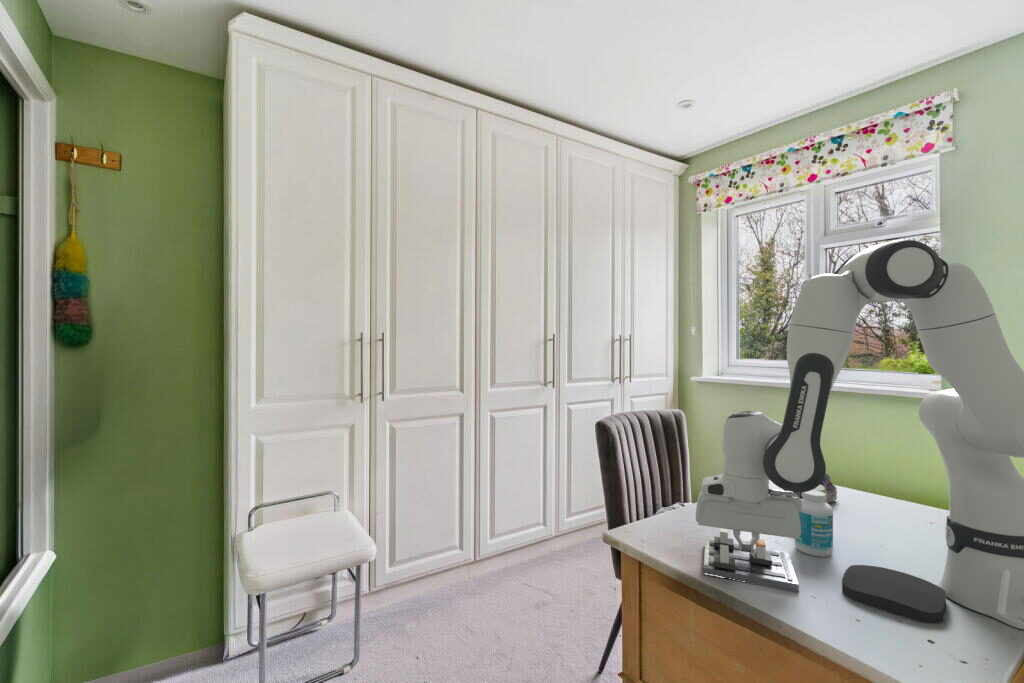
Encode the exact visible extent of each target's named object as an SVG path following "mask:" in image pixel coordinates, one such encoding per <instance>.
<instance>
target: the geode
mask: <svg viewBox="0 0 1024 683" xmlns="http://www.w3.org/2000/svg"><path fill="white" fill-rule="evenodd" d="M821 485H823V486H824V487H825V490H826V491H827V504H830V503H832V502H834V501H837V499H838V495H837V494H838V490H837V487H836V485H834V484H833V483H832V481H831V477H830V476H829V474H827V473H825V477H824V479H823V481H822V482H821ZM782 491H786V490H784V489H782ZM793 494H796V495H798V496H799V493H796V492H793ZM793 497H796V496H793Z"/></svg>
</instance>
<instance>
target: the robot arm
mask: <svg viewBox="0 0 1024 683" xmlns="http://www.w3.org/2000/svg"><path fill="white" fill-rule="evenodd" d="M895 300H899V301H900V302H902V304H905V306H906V307H907V308H908V310H909V311H910V313H911V314H912V318H913V319H912V320H913V322H914V325H915V328H916V332H917V334H918V337H919V341H920V343H921V346H922V349H923V352H924V354H925V357H926V360H927V363H928V365H929V366H930V368H931V369H932V370H933V371H934V372H935V373H936V374H938V375H939V376H940V377H942V378H943V379H944V380H945V381H946V382H947V383H948V384H949V386H951V387H952V388H946V389H940V390H935V391H932V392H930V393H928V394H927V395H926V396H925V397H923V399H922V401H921V402H920V404H919V409H918V415H919V416H918V417H919V420H920V421H921V423H922V425H923V426H924V427H925V428H926V430H928V431H929V432H930V434H931V436H932V437H933V438H934V441H935V442H936V446H937V447H938V450H939V453H940V456H941V459H942V461H943V464H944V467H945V472H946V475H947V476H946V477H947V482H948V484H947V485H948V502H949V504H948V508H949V510H948V511H949V514H948V516H946V522H945V523H946V524H945V541H946V546H947V556H946V560H945V561H946V562H945V566H944V571H943V574H942V577H941V580H940V581H939V584H938V587H940V588H942V589H943V590H944V591H945V592H946V598H948V599H950V600H951V601H953V602H955V603H957V604H959V605H961V606H963V607H965V608H968V609H970V610H973V611H975V612H978V613H981V614H983V615H986V616H989V617H991V618H994V619H996V620H999V621H1000V622H1002V623H1004V624H1007V625H1009V626H1011V627H1014V628H1016V629H1019V630H1020V629H1021V630H1024V476H1022V475H1021V473H1020V472H1019V471H1018V470H1017V468H1016V467H1015V465H1014V462H1013V461H1012V458H1011V457H1013V458H1020V459H1024V370H1023V369H1022V367H1021V366H1020V364H1019V363H1018V361H1017V360H1016V359H1015V358H1014V355H1013V354H1012V352H1011V350H1010V348H1009V346H1008V344H1007V341H1006V339H1005V335H1004V334H1003V330H1002V329H1001V325H1000V323H999V320H998V318H997V315H996V313H995V309H994V307H993V304H992V302H991V299H990V297H989V295H988V293H987V292H986V289H985V288H984V286H983V284H982V283H981V280H979V278H978V276H977V275H976V274H975V272H974V270H972V269H971V267H970V266H967V265H965V264H963V263H960V262H959V263H957V262H946V261H945V260H944V259H942V258H941V257H940V256H939V254H938V253H937V252H936V251H935V250H934V249H933V248H932V247H931V246H929V245H927V244H926V243H923V242H922V241H918V240H914V239H895V240H891V241H887V242H884V243H879V244H876V245H873V246H870V247H868V248H866V249H864V250H862V251H861V252H858V253H855V254H853V255H852V256H850V257H849V258H847V259H846V260H844V261H843V263H842V264H841V265H840V266H839V268H838V269H836V270H835V272H834V273H823V274H822V273H821V274H818V275H815V276H812V277H810V278H809V279H807V280H806V281H805V283H804V284H803V286H802V288H801V289H800V292H799V295H798V297H797V300H796V302H795V305H794V308H793V310H792V315H791V318H790V322H789V326H788V330H787V338H786V361H787V366H788V372H789V380H790V382H789V393H788V398H787V402H786V407H785V411H784V415H783V421H782V423H781V422H778V421H776V420H774V419H772V418H770V417H769V416H767V415H766V414H765V413H764V412H762V411H758V410H746V411H739V412H735V413H732V414H731V415H729V416H728V417H727V418H726V420H724V421H725V422H724V424H723V433H722V452H723V455H724V463H723V464H724V465H723V469H722V473H721V474H716V475H712V476H705V477H704V478H703V479H702V481H701V490H700V492H699V494H698V497H697V500H696V501H697V502H696V507H695V508H696V509H695V521H696V523H697V525H699V526H701V527H702V526H703V527H708V528H709V527H710V528H718V529H720V528H723V529H728V530H731V531H733V532H732V533H733V537H734V538H735V540H736V542H737V544H739V551H744V552H750V553H754V547H755V546H756V543H757V541H758V540H759V539H760V535H766V536H767V535H768V536H775V537H782V538H788V539H794V540H795V539H797V538H798V537H799V536H800V535H801V524H800V518H799V513H800V512H801V510H802V500H801V498H800V497H799V496H798V495H796V494H793V492H796V493H801V492H807V491H811V490H813V489H815V488H816V487H818V486H819V485H820V484H821V482H822V481H823V479H824V477H825V474H827V473H826V472H827V471H826V470H827V469H826V467H827V466H826V461H825V458H824V455H823V452H822V447H821V436H822V431H823V427H824V422H825V417H826V412H827V407H828V403H829V402H828V401H829V399H830V398H829V397H830V395H831V390H832V388H833V386H834V384H835V382H836V380H837V378H838V376H839V374H840V372H841V370H842V368H843V366H844V365H845V362H846V360H847V357H848V356H849V352H850V350H851V346H852V344H853V340H854V337H855V336H854V334H855V331H856V327H857V326H856V325H857V320H858V318H859V317H860V316H859V315H860V314H861V312H862V310H863V309H864V307H866V306H867V305H868V304H871V303H888V302H893V301H895ZM769 481H771V483H772V484H774V485H775V486H776V487H778V488H779V489H782V490H779V489H773V488H772V489H771V488H770V482H769ZM783 489H784V490H786V491H783ZM793 496H796V497H793ZM741 532H746V533H751V537H752V538H751V539H750V540H749V541H747V540H742V538H741Z"/></svg>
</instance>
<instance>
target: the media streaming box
mask: <svg viewBox="0 0 1024 683" xmlns="http://www.w3.org/2000/svg"><path fill="white" fill-rule="evenodd" d="M841 591H842V594H844V596H845V597H847V598H849V599H850V600H852V601H854V602H856V603H860V604H862V605H865V606H868V607H870V608H871V607H872V608H874V609H876V610H877V609H878V610H881V611H883V612H886V613H890V614H893V615H896V616H899V617H902V618H907V619H909V620H911V621H912V620H913V621H916V622H920V623H924V624H931V625H935V624H940V623H942V622H943V621H944V618H945V616H946V615H945V614H946V607H947V603H946V602H947V600H946V598H947V596H946V592H945V591H944V590H943V589H942V588H940V587H939V585H937V584H934V583H933V582H931V581H929V580H925V579H924V578H921V577H918V576H915V575H913V574H909V573H906V572H902V571H899V570H896V569H891V568H886V567H881V566H877V565H876V566H875V565H867V564H866V565H865V564H853V565H850V566H848V567H847V568H846V569H845V571H844V573H843V576H842V579H841Z"/></svg>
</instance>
